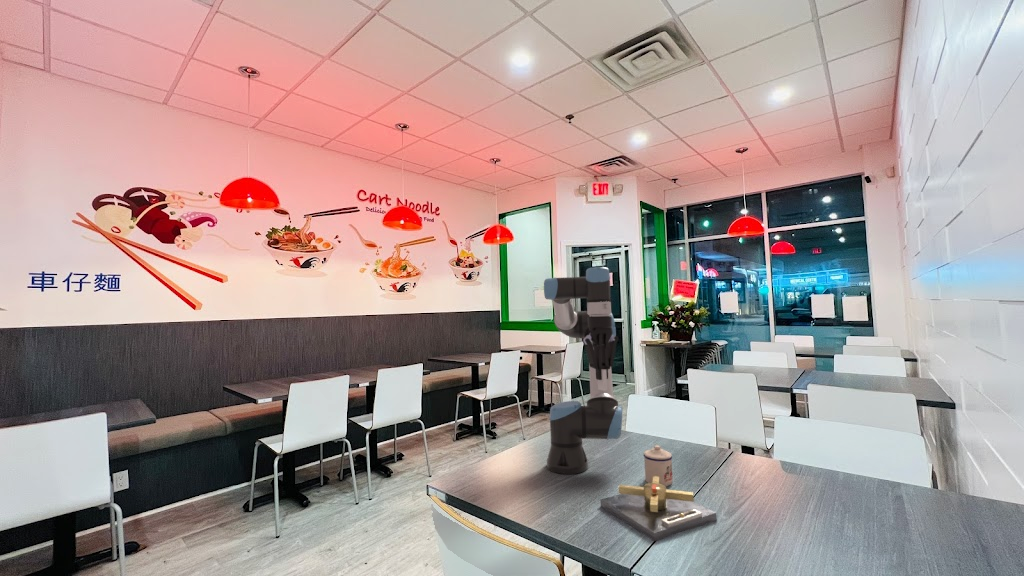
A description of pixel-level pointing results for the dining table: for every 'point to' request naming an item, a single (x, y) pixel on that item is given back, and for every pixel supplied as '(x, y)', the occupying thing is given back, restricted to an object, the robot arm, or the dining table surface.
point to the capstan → (656, 494)
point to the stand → (658, 515)
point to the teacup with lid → (658, 465)
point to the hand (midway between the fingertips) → (602, 389)
